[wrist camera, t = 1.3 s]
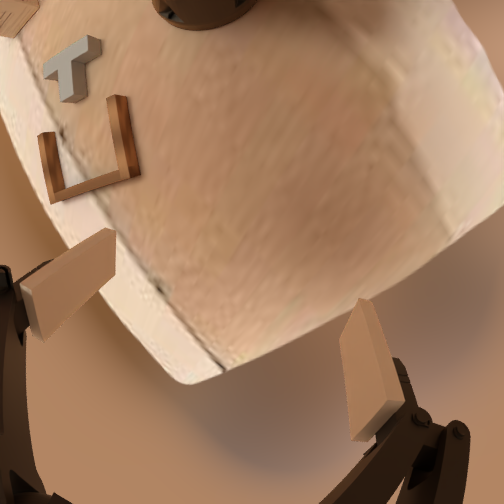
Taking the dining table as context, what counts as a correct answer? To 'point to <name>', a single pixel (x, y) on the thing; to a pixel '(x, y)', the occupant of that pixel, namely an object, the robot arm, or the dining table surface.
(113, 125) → the dock
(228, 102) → the dining table surface
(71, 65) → the t block
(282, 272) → the dining table surface
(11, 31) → the supplement box
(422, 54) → the dining table surface
